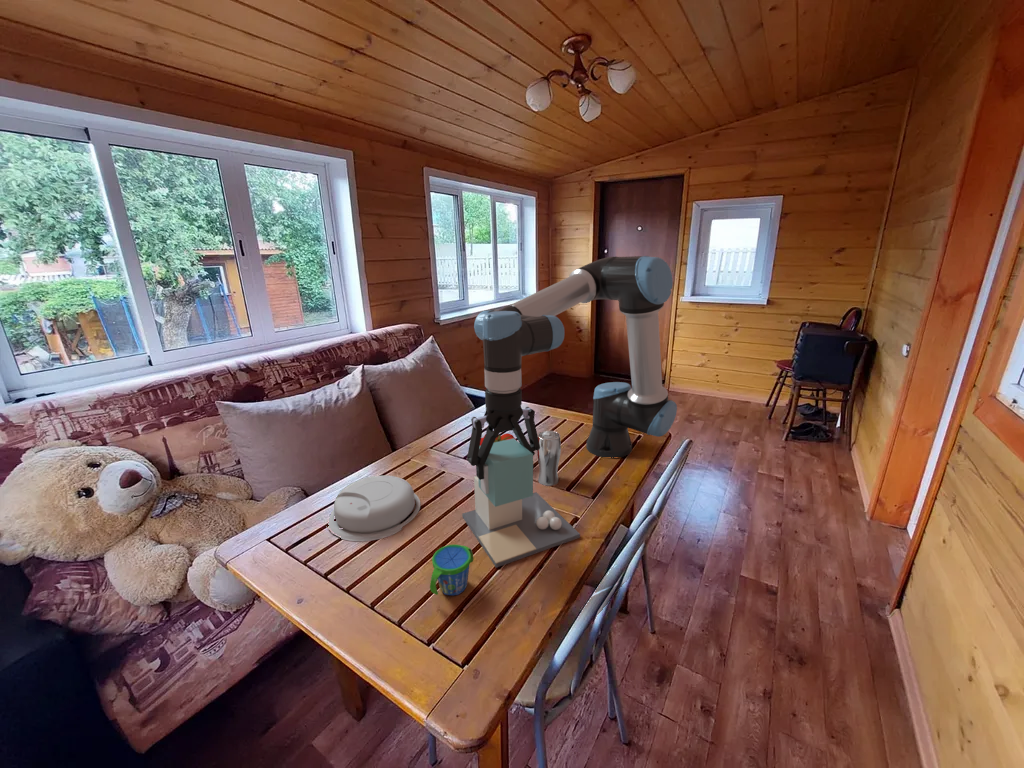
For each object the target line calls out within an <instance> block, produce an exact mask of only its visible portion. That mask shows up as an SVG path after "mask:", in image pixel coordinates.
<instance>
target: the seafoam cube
mask: <svg viewBox="0 0 1024 768" xmlns="http://www.w3.org/2000/svg"><path fill="white" fill-rule="evenodd" d="M514 438H515V437H514ZM514 438H513V439H508V440H504V441H499V442H495V443H494V444H493V446H492V448H491V451H490V453H489V455H488V457H487V460H486V462H485V463H486V464H487V465H488V481H489V494H485V493H484V492H483V493H484V494H485V495H486V496H487V497H488V499H489V500H490V501H491V502H492V503H493V505H494V506H495V507H496V506H500V505H503V504H507V503H510V502H513V501H517V500H520V499H524V498H527V497H531V496H533V493H534V456H533V454H532V453H531V452H530V451H529V450H528V449H526V448H525V447H523V446H522V445H521V444H520V443H519V441H518V440H517V439H516V438H515V439H516V440H517V441H516V440H515V439H514ZM479 449H480V447H479ZM478 481H479V488H480V489H481V480H480V479H479V478H478ZM481 490H482V489H481ZM482 491H483V490H482Z"/></svg>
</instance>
